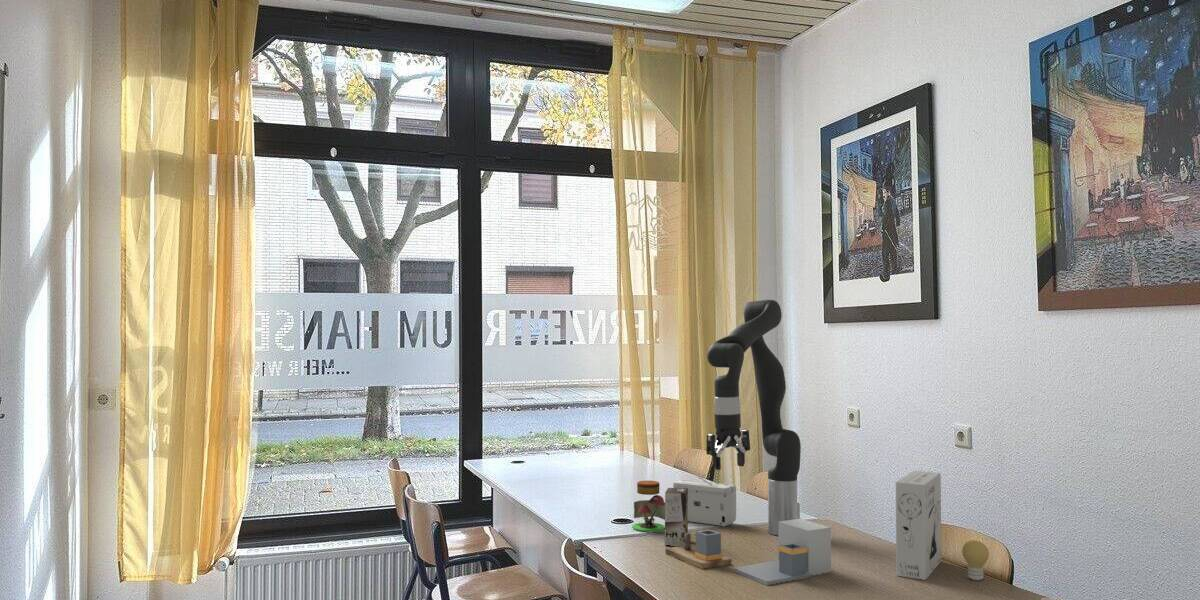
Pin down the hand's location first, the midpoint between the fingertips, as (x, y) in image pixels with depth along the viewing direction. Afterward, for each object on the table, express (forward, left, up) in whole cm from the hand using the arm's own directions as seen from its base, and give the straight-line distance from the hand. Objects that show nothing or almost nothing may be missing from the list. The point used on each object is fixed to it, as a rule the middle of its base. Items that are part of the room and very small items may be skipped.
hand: (729, 467), depth 249 cm
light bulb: (-43, +50, -25) cm, 70 cm away
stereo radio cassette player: (-19, -38, -26) cm, 50 cm away
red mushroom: (+2, -39, -26) cm, 47 cm away
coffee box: (+5, -19, -26) cm, 32 cm away
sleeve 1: (+10, +4, -24) cm, 26 cm away
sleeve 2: (-2, +25, -24) cm, 35 cm away
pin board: (+10, -1, -25) cm, 27 cm away
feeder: (-2, +21, -25) cm, 33 cm away
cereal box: (-38, +36, -26) cm, 58 cm away
